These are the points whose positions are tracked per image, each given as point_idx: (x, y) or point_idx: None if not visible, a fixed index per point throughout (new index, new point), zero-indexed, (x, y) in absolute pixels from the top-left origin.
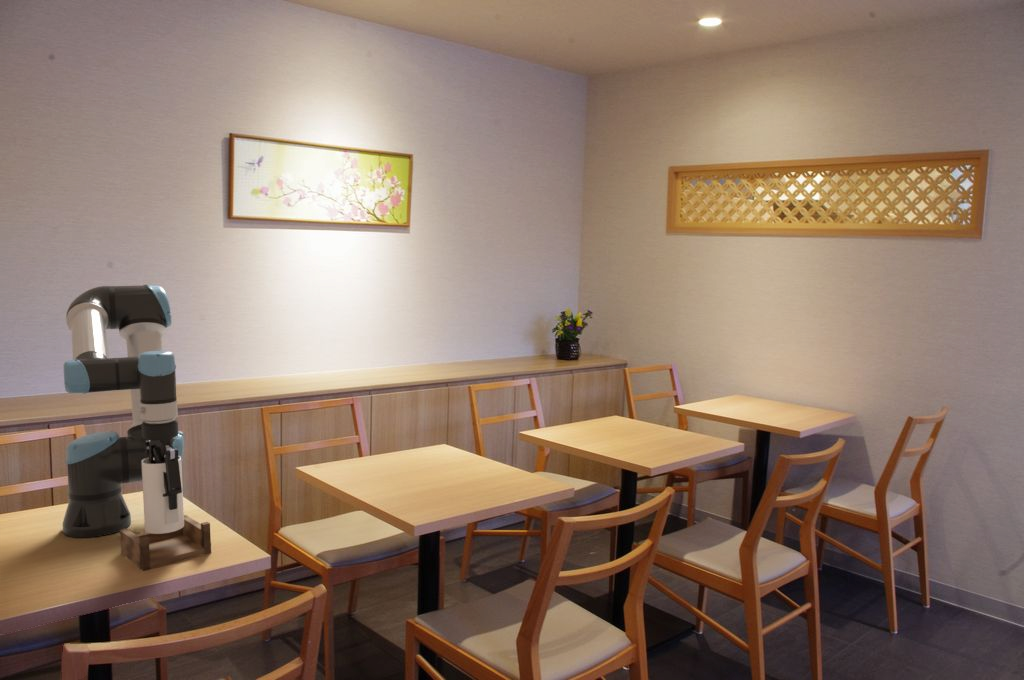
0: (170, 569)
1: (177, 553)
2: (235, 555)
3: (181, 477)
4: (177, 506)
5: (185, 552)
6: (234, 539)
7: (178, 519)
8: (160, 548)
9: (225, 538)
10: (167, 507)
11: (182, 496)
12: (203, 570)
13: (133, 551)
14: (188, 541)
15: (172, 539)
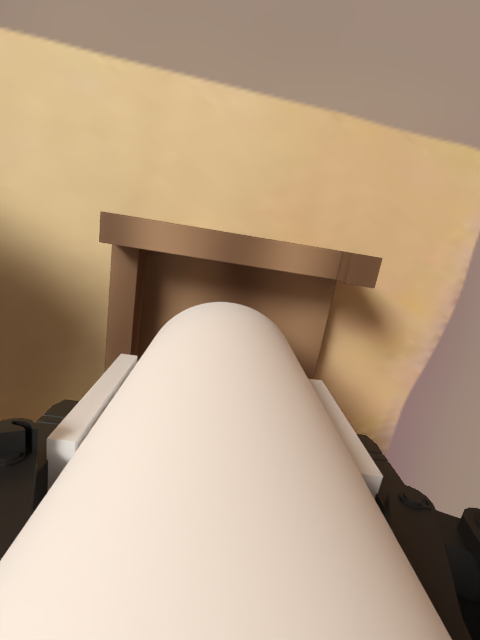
0: (343, 390)
1: (304, 352)
2: (421, 212)
3: (351, 477)
4: (347, 424)
5: (317, 332)
6: (294, 115)
7: (324, 386)
8: None
9: (257, 131)
10: None
11: (298, 376)
12: (428, 340)
13: None
14: (235, 273)
15: (173, 297)
